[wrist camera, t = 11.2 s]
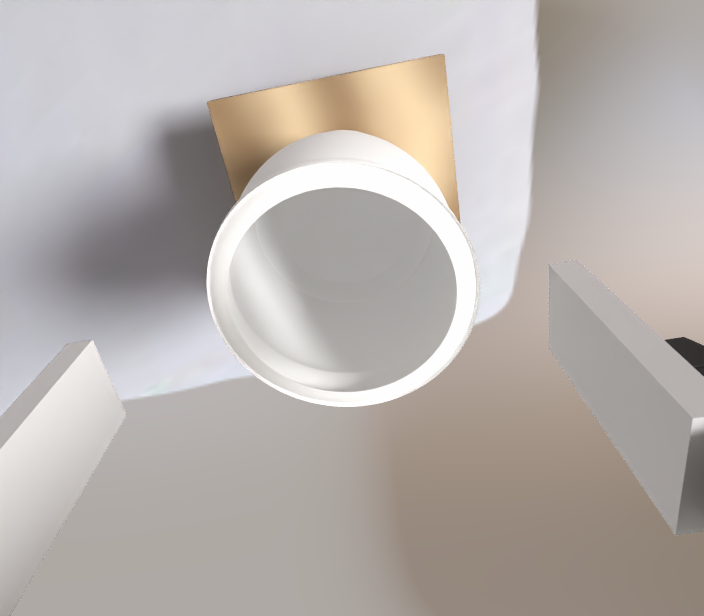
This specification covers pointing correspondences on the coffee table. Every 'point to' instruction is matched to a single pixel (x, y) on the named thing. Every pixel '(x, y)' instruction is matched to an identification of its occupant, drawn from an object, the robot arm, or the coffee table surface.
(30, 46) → the coffee table surface
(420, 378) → the jar
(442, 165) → the stool
